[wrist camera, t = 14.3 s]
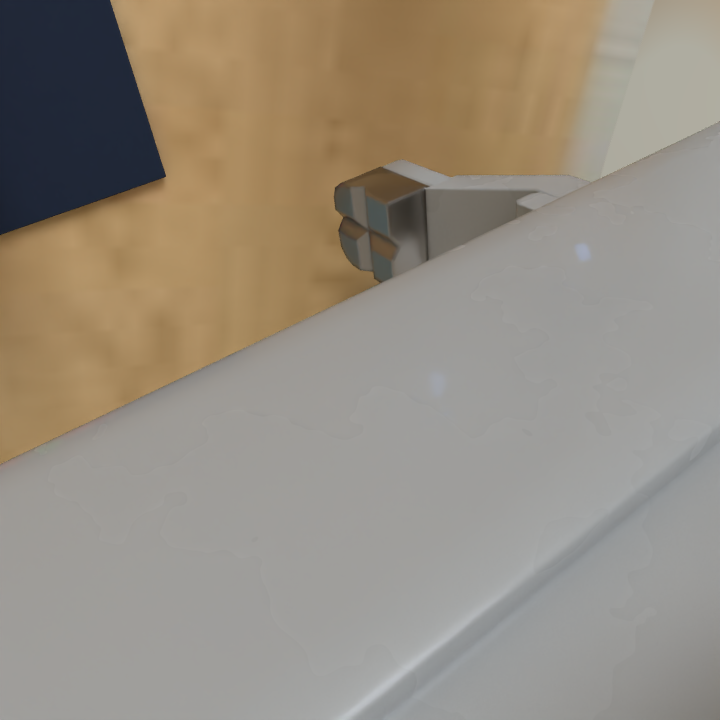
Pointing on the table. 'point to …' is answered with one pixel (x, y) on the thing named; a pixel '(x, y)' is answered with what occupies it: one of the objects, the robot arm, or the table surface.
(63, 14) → the cloth
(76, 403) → the table surface
